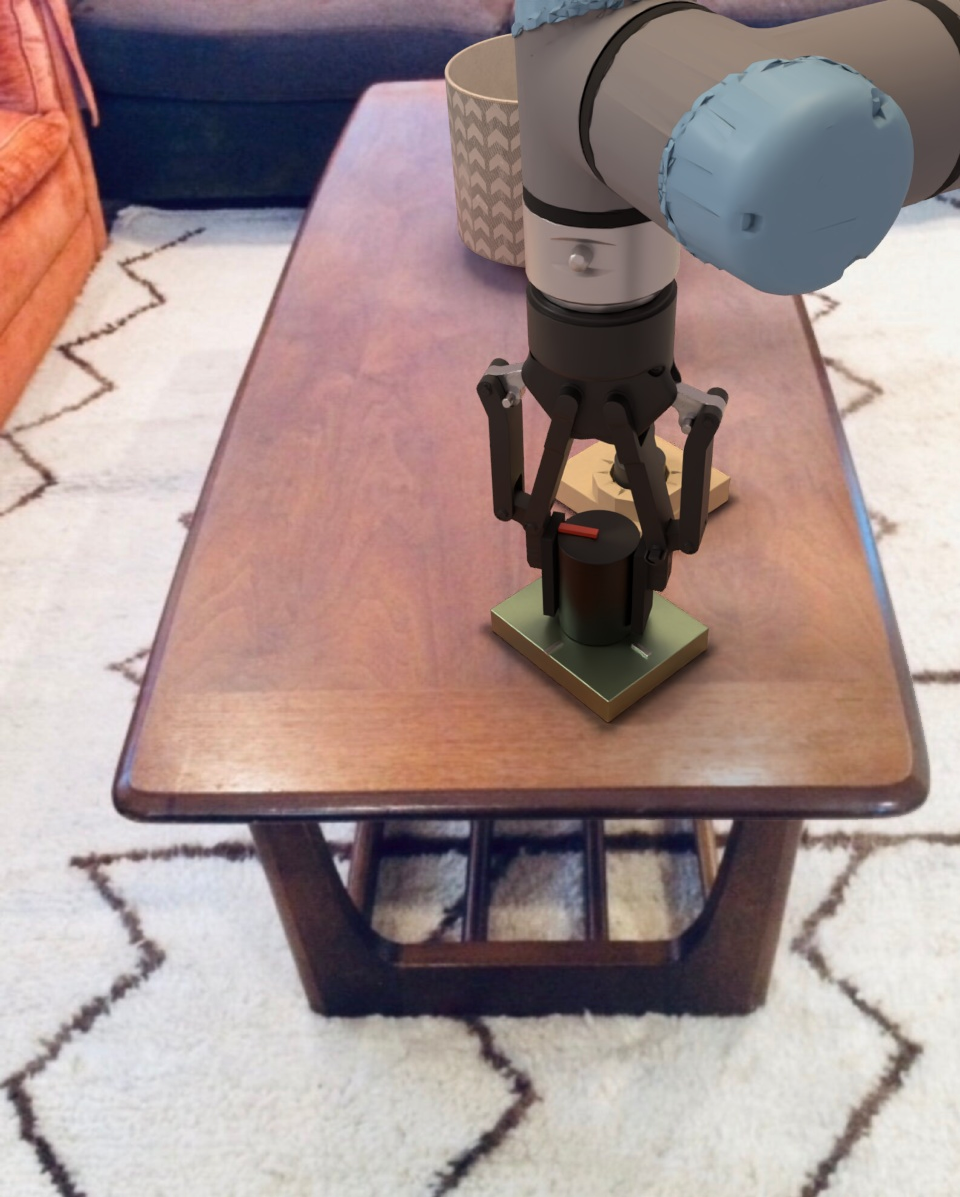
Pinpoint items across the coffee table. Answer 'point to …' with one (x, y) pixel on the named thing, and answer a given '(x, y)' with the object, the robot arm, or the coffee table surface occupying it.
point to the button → (621, 474)
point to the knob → (596, 576)
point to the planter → (487, 149)
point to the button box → (597, 489)
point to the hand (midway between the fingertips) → (597, 609)
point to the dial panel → (601, 650)
